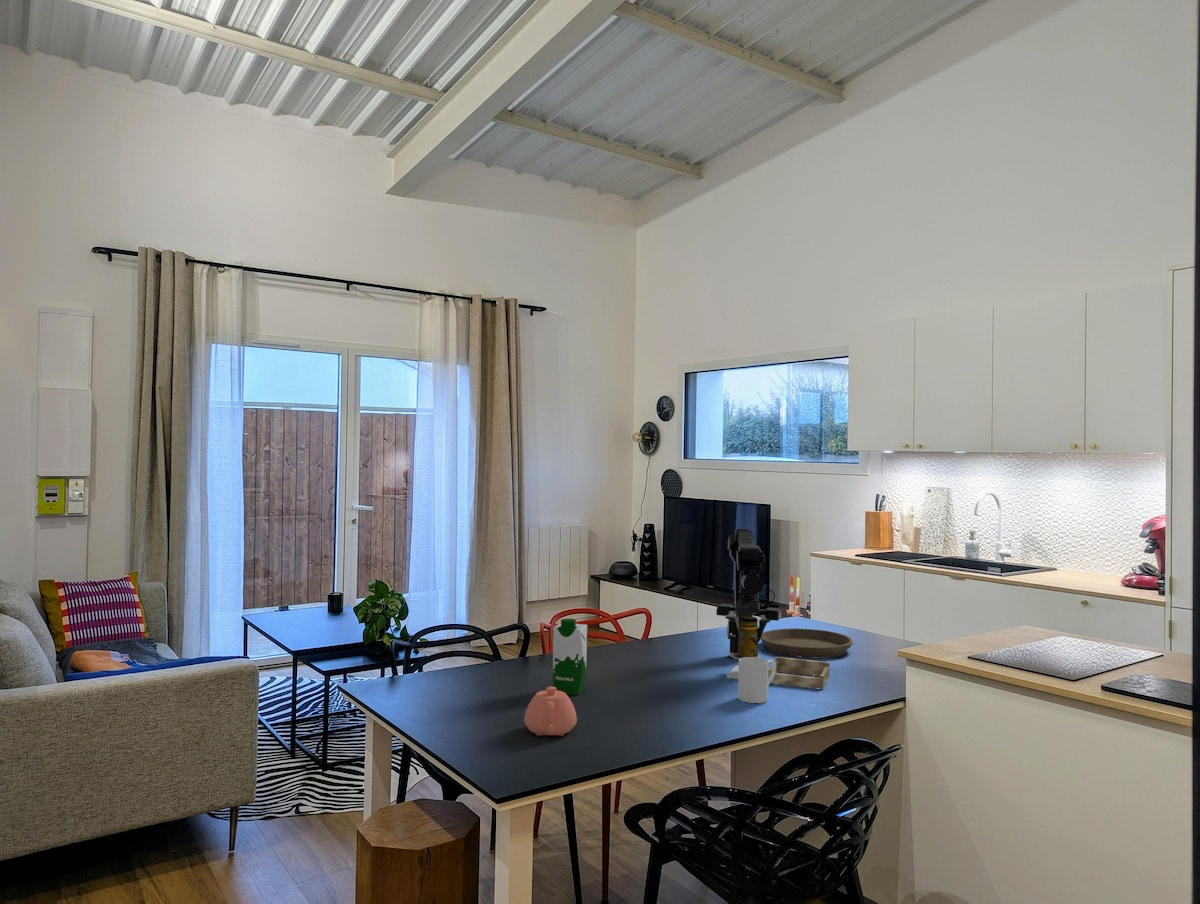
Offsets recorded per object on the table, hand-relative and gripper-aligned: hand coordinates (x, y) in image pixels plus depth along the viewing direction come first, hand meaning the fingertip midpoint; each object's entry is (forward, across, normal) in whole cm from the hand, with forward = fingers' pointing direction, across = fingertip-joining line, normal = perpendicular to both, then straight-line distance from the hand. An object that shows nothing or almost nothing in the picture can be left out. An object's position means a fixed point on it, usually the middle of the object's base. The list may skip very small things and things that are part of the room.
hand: (748, 640), depth 246 cm
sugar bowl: (+10, -31, -73) cm, 80 cm away
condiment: (+5, -1, 0) cm, 5 cm away
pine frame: (+10, +15, 0) cm, 18 cm away
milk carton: (+10, -41, -40) cm, 58 cm away
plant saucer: (+11, +11, +43) cm, 46 cm away
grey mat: (+10, 0, 0) cm, 10 cm away
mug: (+10, +8, -24) cm, 27 cm away
